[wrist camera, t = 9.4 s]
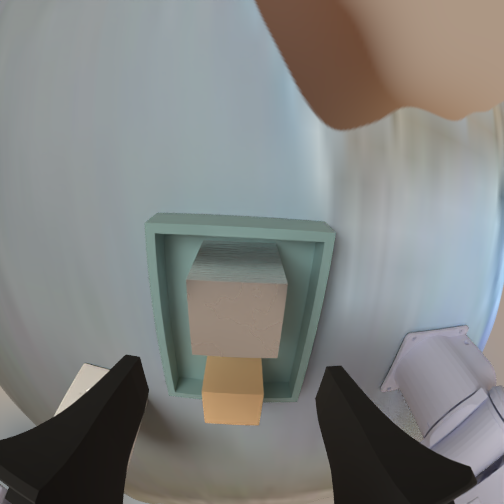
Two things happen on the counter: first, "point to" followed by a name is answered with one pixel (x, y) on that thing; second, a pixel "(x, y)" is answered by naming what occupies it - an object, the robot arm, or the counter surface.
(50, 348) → the counter surface
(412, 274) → the counter surface
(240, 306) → the concrete cube
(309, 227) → the tote
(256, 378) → the tan box
